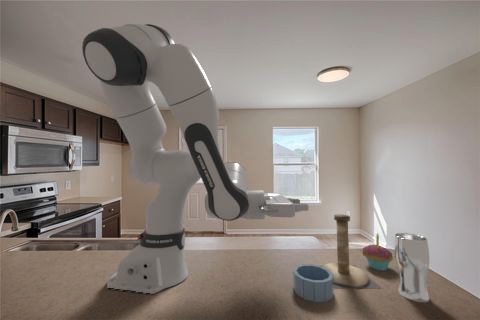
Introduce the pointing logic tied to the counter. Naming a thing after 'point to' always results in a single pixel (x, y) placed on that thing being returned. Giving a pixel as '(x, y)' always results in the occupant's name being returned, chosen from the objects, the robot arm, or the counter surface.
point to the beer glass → (412, 265)
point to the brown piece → (345, 259)
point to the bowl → (313, 283)
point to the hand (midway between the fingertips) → (303, 204)
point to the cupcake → (377, 255)
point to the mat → (369, 286)
